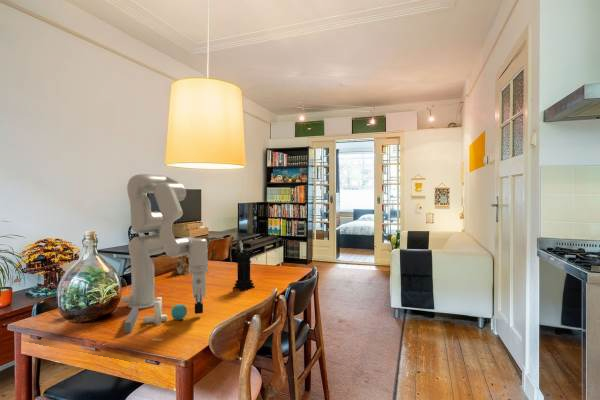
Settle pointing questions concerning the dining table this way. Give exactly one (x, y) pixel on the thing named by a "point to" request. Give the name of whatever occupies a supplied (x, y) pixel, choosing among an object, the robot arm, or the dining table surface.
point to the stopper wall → (131, 320)
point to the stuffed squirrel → (182, 265)
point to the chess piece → (243, 270)
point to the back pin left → (159, 300)
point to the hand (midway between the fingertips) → (198, 312)
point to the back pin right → (157, 312)
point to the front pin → (151, 318)
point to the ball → (179, 312)
